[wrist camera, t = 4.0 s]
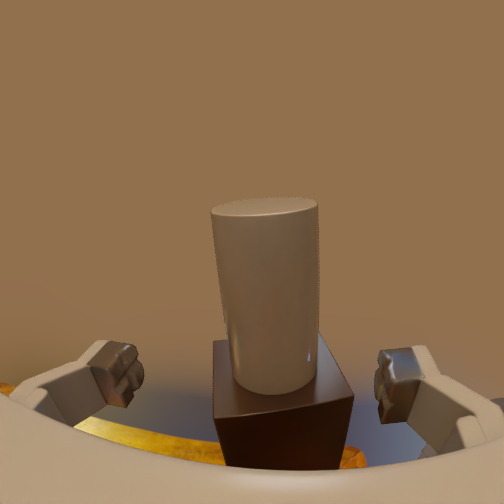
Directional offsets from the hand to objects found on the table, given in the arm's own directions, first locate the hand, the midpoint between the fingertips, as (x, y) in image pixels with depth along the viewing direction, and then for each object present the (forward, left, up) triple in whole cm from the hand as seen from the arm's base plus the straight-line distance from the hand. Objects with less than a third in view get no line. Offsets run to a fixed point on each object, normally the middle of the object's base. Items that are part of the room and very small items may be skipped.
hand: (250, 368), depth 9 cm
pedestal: (-2, -6, -29) cm, 30 cm away
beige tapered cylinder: (-2, -6, -5) cm, 8 cm away
